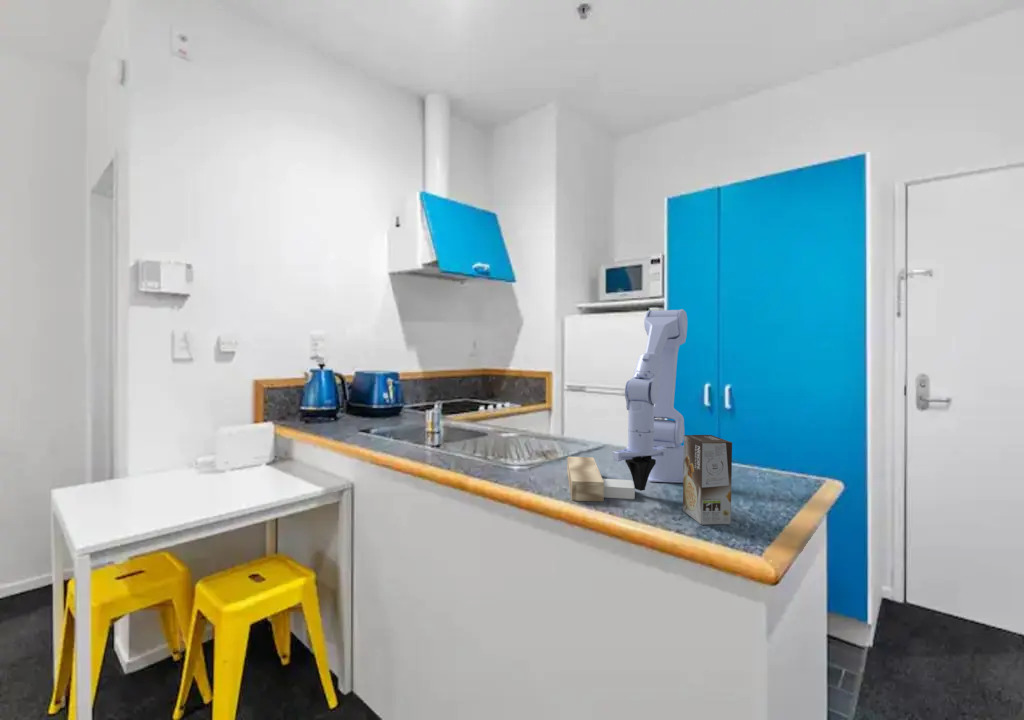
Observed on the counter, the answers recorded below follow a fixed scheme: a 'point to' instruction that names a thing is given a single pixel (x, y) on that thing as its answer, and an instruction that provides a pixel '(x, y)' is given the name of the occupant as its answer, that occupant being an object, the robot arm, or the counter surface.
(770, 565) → the counter surface
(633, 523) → the counter surface
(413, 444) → the counter surface
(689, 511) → the coffee box
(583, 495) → the wooden block
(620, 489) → the white flat block
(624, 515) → the counter surface
